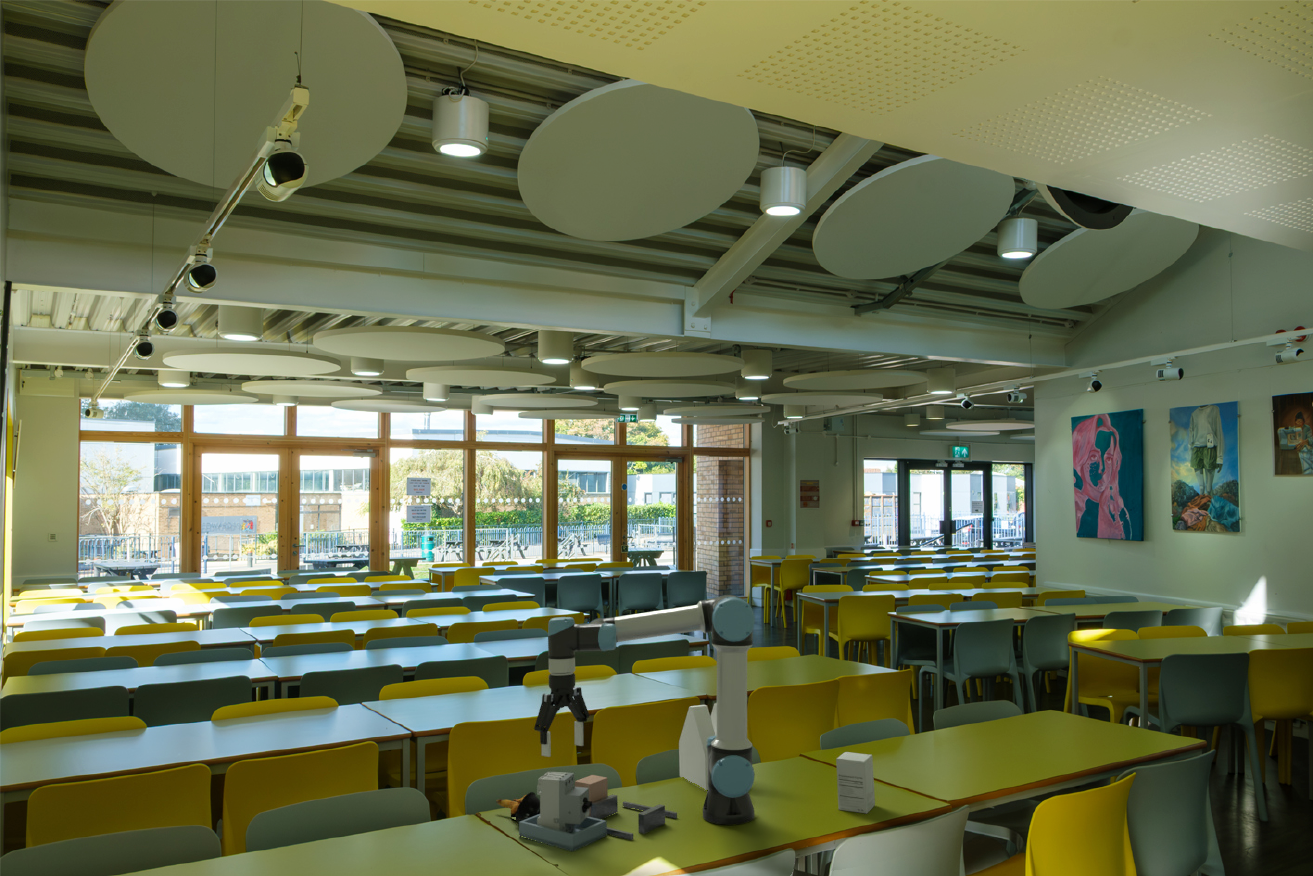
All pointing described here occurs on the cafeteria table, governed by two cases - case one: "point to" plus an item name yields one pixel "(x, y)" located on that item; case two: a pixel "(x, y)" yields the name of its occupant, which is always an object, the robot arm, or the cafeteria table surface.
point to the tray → (564, 833)
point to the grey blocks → (646, 819)
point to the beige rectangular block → (594, 787)
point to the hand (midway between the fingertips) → (563, 750)
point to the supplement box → (855, 782)
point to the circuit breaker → (562, 801)
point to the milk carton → (696, 744)
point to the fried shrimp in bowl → (522, 806)
